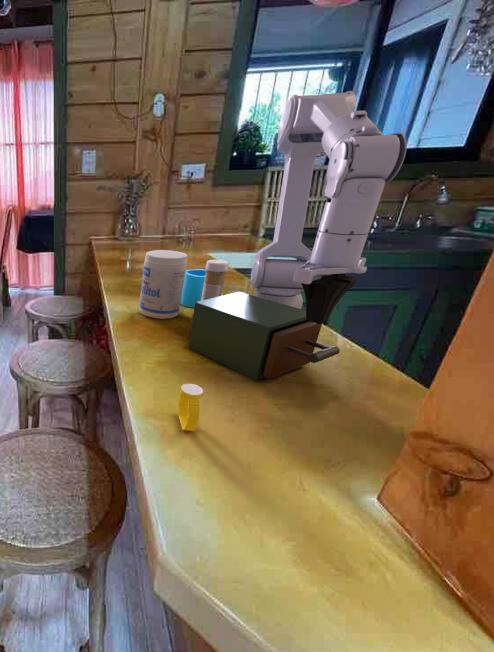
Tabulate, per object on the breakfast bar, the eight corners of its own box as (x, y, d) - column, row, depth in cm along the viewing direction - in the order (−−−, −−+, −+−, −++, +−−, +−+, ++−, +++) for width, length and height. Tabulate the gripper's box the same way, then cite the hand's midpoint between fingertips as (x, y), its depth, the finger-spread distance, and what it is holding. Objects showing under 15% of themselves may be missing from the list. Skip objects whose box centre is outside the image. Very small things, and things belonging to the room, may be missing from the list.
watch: (171, 411, 55) (176, 376, 53) (191, 412, 55) (197, 377, 52) (179, 437, 50) (185, 399, 47) (200, 439, 49) (208, 401, 47)
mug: (214, 309, 94) (220, 277, 91) (180, 307, 96) (184, 276, 93) (209, 295, 105) (214, 266, 101) (178, 293, 107) (182, 265, 103)
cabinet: (300, 362, 68) (315, 313, 64) (256, 380, 63) (269, 327, 59) (230, 335, 80) (239, 291, 76) (187, 347, 75) (195, 302, 71)
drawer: (339, 374, 62) (355, 331, 59) (298, 392, 57) (313, 346, 54) (241, 336, 77) (249, 300, 74) (202, 348, 72) (208, 310, 69)
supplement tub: (131, 313, 93) (136, 253, 87) (151, 304, 99) (158, 248, 93) (166, 323, 87) (174, 259, 80) (186, 313, 92) (195, 253, 86)
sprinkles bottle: (222, 317, 89) (233, 261, 83) (210, 322, 87) (221, 264, 81) (205, 312, 92) (214, 258, 87) (193, 316, 90) (202, 260, 85)
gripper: (346, 240, 47) (315, 340, 52) (402, 230, 53) (369, 320, 58) (289, 233, 52) (267, 323, 58) (346, 225, 58) (320, 307, 64)
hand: (315, 321), depth 58 cm, fingers closed
